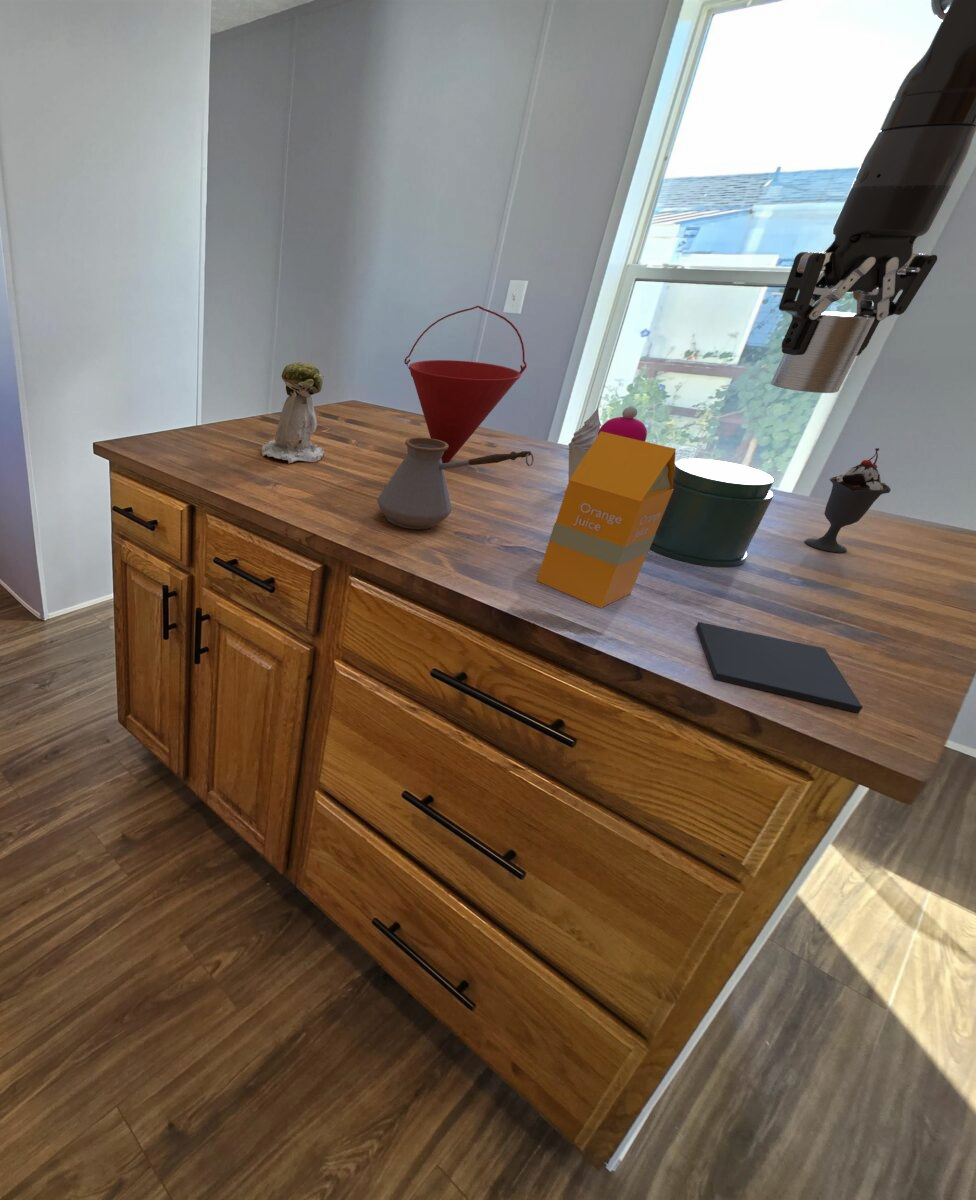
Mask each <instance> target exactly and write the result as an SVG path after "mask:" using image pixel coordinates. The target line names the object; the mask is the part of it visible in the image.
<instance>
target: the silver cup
mask: <svg viewBox="0 0 976 1200" xmlns="http://www.w3.org/2000/svg"><path fill="white" fill-rule="evenodd" d="M874 319H875V317H874V316H870V315H864V314H857V313H855V312H842V311H826V310H825V311H824V312H823V313H822V314H821V315H820V316H819V317H818V318H817V319H815V320H816V321H818V323H817V325H816V327H815V329H814V331H813V334H812V336H811V338H810V340H809V342H808V344H807V347H806V349H805V351H804V353H803V354H801V355H790V354H785V353H783V355H782V357H781V359H780V361H779V363H778V366H777V369H776V370H775V373H774V375H773V376H772V379H771V381H770V385H772V386H774V387H775V388H776V387H777V388H780V389H784V390H785V389H786V390H789V391H790V390H791V391H796V392H803V393H804V392H805V393H816V394H836V393H838V392H839V391H840V390H841V387H842V385H843V383H844V382H845V379H846V377H847V375H848V374H849V371H850V369H851V368H852V365H853V363H854V362H855V359H856V357H857V356H856V355H857V353H858V351H859V349H860V347H861V345H862V343H863V341H864V339H865V337H866V335H867V333H868V331H869V329H870V327H871V325H872V323H873V321H874Z"/></svg>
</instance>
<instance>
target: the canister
mask: <svg viewBox="0 0 976 1200" xmlns="http://www.w3.org/2000/svg"><path fill="white" fill-rule="evenodd" d="M774 483H775V478H774V477H773V476H772V475H770V474H768V473H767V472H764V471H762V470H759V469H757V468H753V467H751V466H746V465H743V464H739V463H733V462H728V461H723V460H715V459H706V458H684V459H679V460H677V461H676V460H675V465H674V479H673V489H674V490H673V492H672V495H671V497H670V500H669V502H668V504H667V507H666V509H665V512H664V514H663V516H662V519H661V521H660V524H659V526H658V529H657V531H656V533H655V534H656V535H655V537H654V539H653V542H652V544H651V547H650V549H649V550H651V551H653V552H654V553H657V554H659V555H662V556H665V557H668V558H670V559H673V560H677V561H681V562H684V563H689V564H694V565H700V566H706V567H716V568H730V567H738V566H740V565H742V564H744V563H745V562H746V560H747V558H748V556H749V555H748V554H749V553H748V552H747V551H748V549H749V547H750V545H751V542H752V541H753V538H754V537H755V535H756V532H757V531H758V529H759V527H760V524H761V522H762V520H763V518H764V516H765V515H766V513H767V510H768V508H769V507H770V505H771V503H772V500H773V499H774V492H773V491H772V490H771V488H772V486H773V484H774Z"/></svg>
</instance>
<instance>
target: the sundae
mask: <svg viewBox="0 0 976 1200" xmlns="http://www.w3.org/2000/svg"><path fill="white" fill-rule="evenodd" d="M874 450H875V454H873V456H872V457H870V458H869V459H863V460H862V461H861V462H860V464H856V465H853V466H852V467H850V468H849V469H848V470H847V471H845V472H844V473H843V474H840V475H835V476H833V477H831V478H829V481H830V482H831V483H832V487H831V490H830V494H829V497H828V500H827V502H826V505H825V510H824V513H823V514H824V516H825V519H826V520H827V521H828V522H829V524H830V526H829V528H828V529H827V531H826V532H825V534H824V535H823V536H821V537H819V538H816V537H815V538H814V537H812V538H809V537H808V538H806V539H804V542H806V543H805V544H806V545H808V546H809V545H810V547H812V548H814V547H815V548H814V549H817V548H818V549H817V550H820V549H821V550H820V551H825V552H829V551H830V552H829V553H838V554H839V553H840V554H841V553H845V552H847V550H848V549H847V547H845V546H844V545H843V544H840V543H838V541H837V537H838V535H839V532H840V531H841V529H842V528H843V527H846V526H851V525H853V524H855V523H858V522H859V521H860V520H861V519H862V518H863V517H864V516H865V515H866V513H867V512H868V511H869V509H871V507H872V505H874V503H875V502H876V500H878V498H879V497H880V496H881V495H884V494H889V493H891V491H892V490H891V488H890V486H889V485H887V484H886V483H885V482H882V479H881V474H880V472H879V470H878V465H877V464H876V463H877V461H878V458H879V453H878V451H880V448H878V447H877V448H874ZM874 458H875V460H874V462H872V461H871V460H873V459H874Z"/></svg>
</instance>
